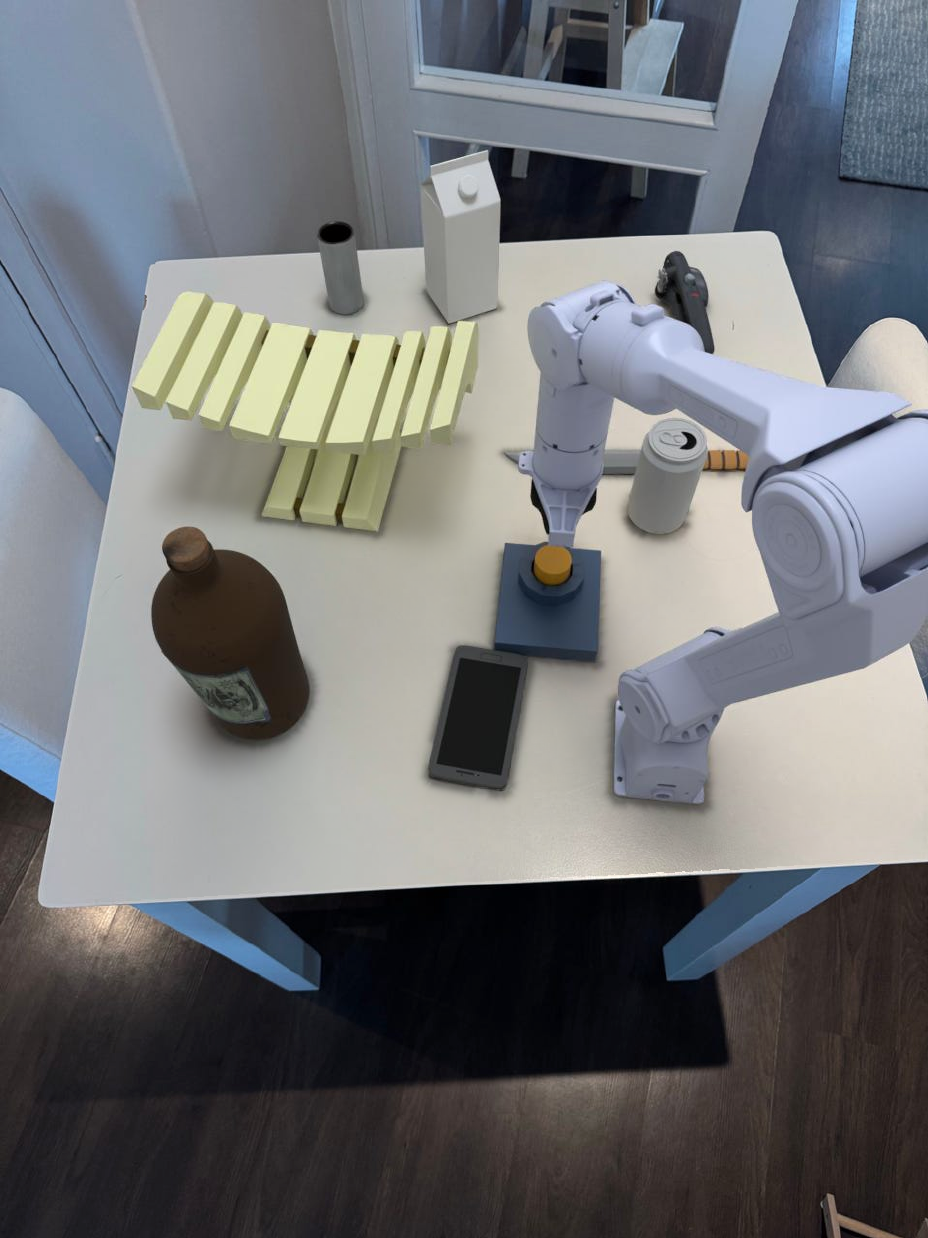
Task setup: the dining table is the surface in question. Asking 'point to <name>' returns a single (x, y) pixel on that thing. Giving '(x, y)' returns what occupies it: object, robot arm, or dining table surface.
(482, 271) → the milk carton
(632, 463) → the knife
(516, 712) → the cell phone
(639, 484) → the beverage can
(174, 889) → the dining table surface
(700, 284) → the can opener
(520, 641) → the button housing
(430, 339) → the slatted curved stool
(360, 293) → the gray cylinder
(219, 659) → the brown bottle
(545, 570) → the trigger button
